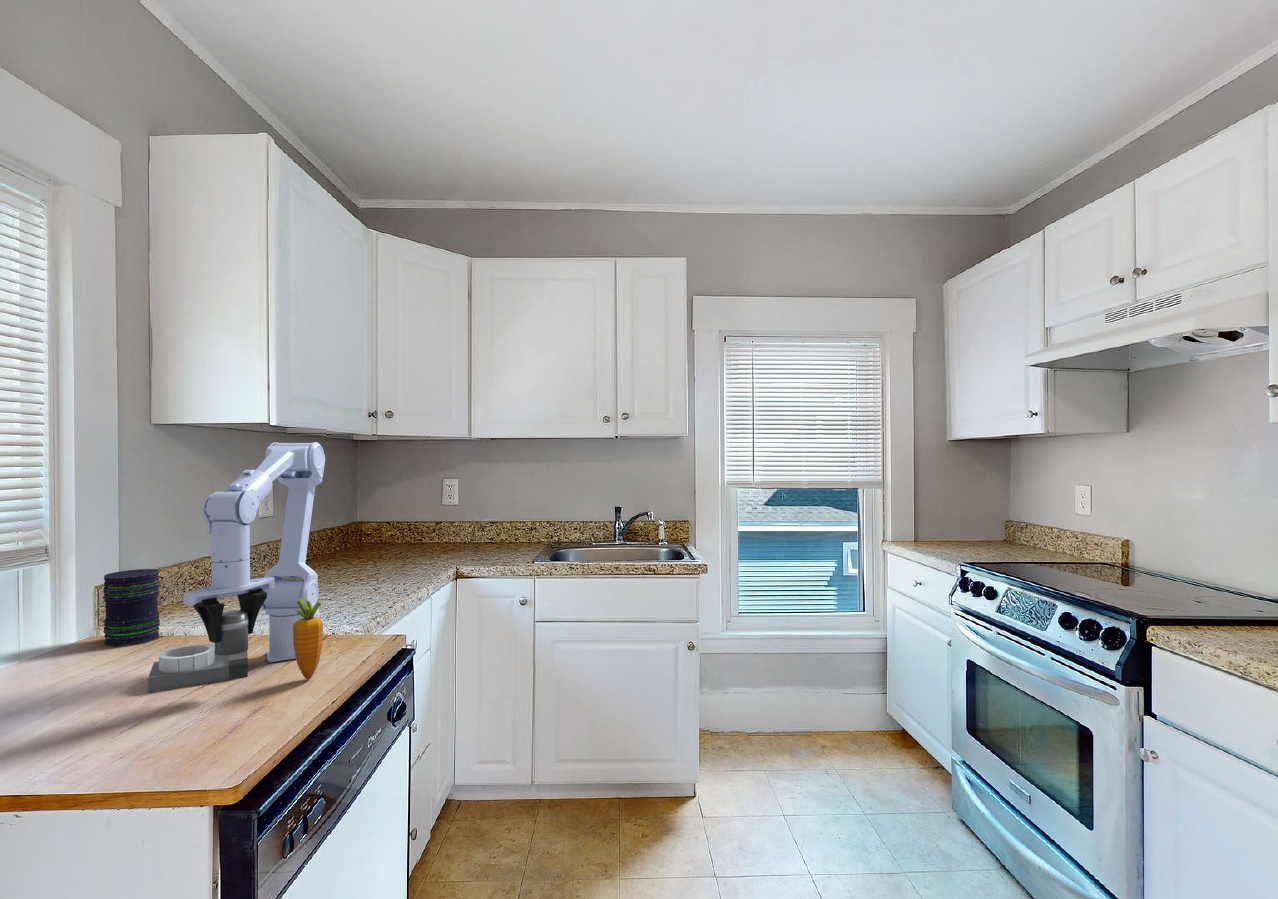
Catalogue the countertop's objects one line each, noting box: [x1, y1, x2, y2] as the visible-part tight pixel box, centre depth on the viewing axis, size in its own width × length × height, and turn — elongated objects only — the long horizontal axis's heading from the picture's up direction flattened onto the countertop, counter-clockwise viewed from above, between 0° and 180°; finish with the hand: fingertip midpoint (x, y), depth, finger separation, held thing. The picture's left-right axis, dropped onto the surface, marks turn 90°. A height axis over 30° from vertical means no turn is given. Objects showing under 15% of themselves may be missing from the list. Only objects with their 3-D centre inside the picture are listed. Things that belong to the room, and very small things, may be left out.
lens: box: [213, 609, 249, 655], centre depth 114 cm, size 5×5×7 cm
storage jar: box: [102, 568, 161, 648], centre depth 144 cm, size 10×10×15 cm
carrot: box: [293, 599, 324, 681], centre depth 120 cm, size 5×5×15 cm
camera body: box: [147, 643, 249, 693], centre depth 122 cm, size 15×10×5 cm, turn 122°
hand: (231, 637), depth 114 cm, fingers closed on lens, 5 cm apart
